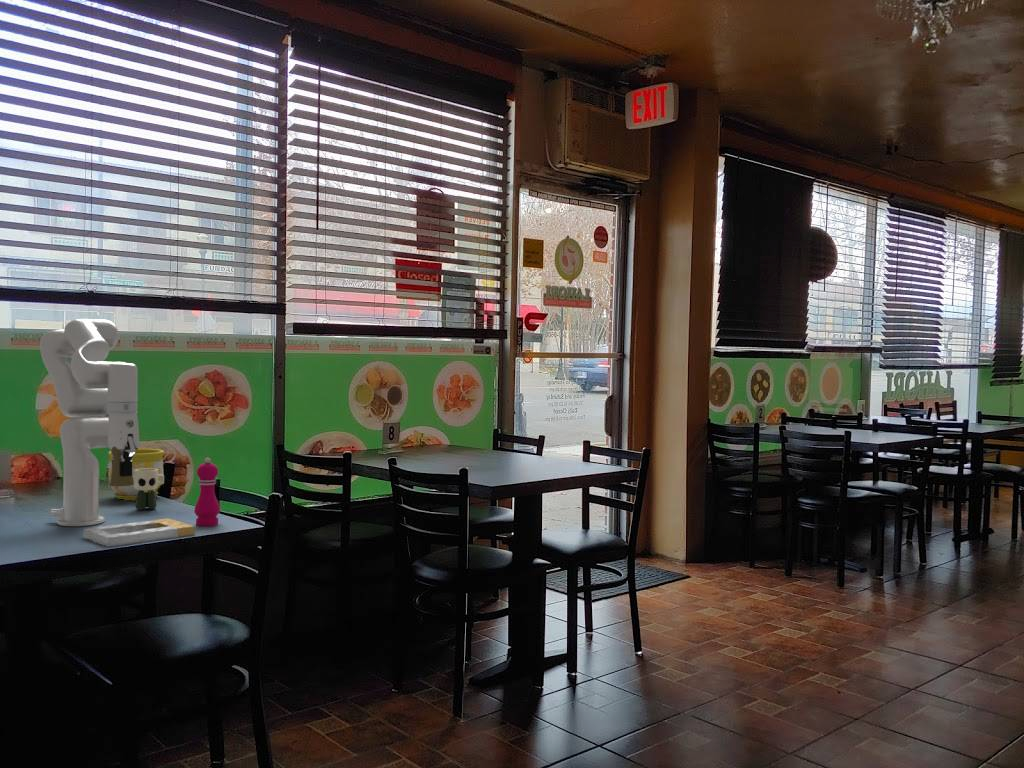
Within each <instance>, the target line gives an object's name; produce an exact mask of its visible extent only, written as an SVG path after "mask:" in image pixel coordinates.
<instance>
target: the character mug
mask: <svg viewBox="0 0 1024 768" xmlns="http://www.w3.org/2000/svg"><path fill="white" fill-rule="evenodd" d="M158 477H161V482H158ZM133 479H134V485H131V486H134V487H135V489H137V490H139V492H138V494H137V499H136V500H135V508H136V509H137V510H140V509H142V510H146V509H147V508H148V509H147V510H153V509H156V508H157V499H156V498H157V497H156V496H155V493H154V491H153V489H156V488H157V486H158V485H160V484H161V485H164V484H165V475H163V474H158V469H152V468H144V469H136V470H134V476H133ZM161 485H160V486H161Z"/></svg>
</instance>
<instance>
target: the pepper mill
mask: <svg viewBox="0 0 1024 768" xmlns="http://www.w3.org/2000/svg"><path fill="white" fill-rule="evenodd" d="M211 460H212V459H211V458H209V457H206V458H204V463H202V464H200V465H199V466H198V467H197V468H196V476H197V477H199V479H198V485H199V486H200V487H199V490H200V492H199V496H198V499H197V501H196V503H195V505H194V514H195V515H196V516H197V518H195V525H196V526H198V527H212V526H214V527H215V526H217V525H218V524H219V518H218V517H217V516H218V515H219V514H220V511H221V506H220V503H219V501H218V498H217V497H216V493H215V485H217V478H216V477H217V476H218V474H219V469H218V466H217V465H216V464H215V463H212V462H211Z"/></svg>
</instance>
